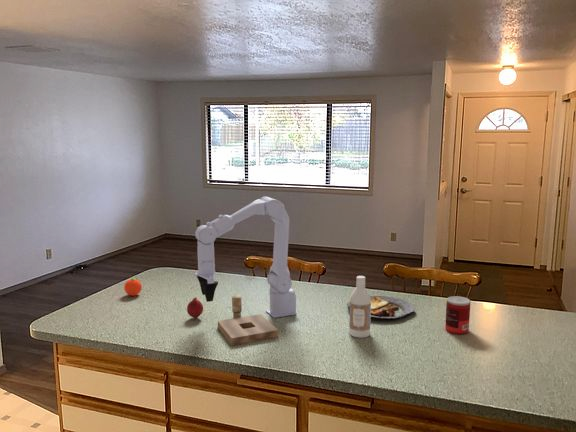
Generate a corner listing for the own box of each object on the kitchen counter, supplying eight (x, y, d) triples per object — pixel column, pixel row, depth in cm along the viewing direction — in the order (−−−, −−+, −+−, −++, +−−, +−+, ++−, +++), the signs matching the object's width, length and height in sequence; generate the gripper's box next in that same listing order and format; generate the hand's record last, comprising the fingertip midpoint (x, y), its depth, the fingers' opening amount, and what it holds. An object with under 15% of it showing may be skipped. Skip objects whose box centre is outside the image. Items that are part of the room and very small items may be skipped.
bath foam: (347, 336, 167) (348, 278, 163) (351, 329, 173) (352, 273, 170) (368, 339, 165) (369, 280, 161) (371, 331, 171) (372, 274, 168)
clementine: (130, 291, 215) (129, 275, 213) (145, 292, 214) (145, 275, 212) (121, 297, 207) (120, 280, 206) (137, 298, 206) (136, 281, 205)
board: (260, 320, 181) (260, 314, 181) (278, 337, 167) (278, 330, 166) (217, 327, 175) (217, 321, 174) (231, 345, 160) (231, 338, 160)
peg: (240, 315, 186) (239, 295, 185) (243, 318, 183) (242, 297, 182) (231, 317, 185) (230, 296, 183) (234, 320, 182) (233, 299, 180)
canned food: (468, 327, 175) (470, 297, 173) (468, 336, 167) (470, 304, 165) (445, 324, 177) (447, 294, 175) (444, 333, 170) (446, 302, 168)
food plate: (383, 327, 174) (384, 317, 174) (334, 310, 192) (335, 301, 191) (425, 312, 191) (425, 303, 190) (376, 297, 208) (376, 289, 207)
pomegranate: (199, 322, 180) (199, 300, 179) (184, 320, 181) (184, 299, 180) (205, 316, 186) (205, 295, 185) (191, 315, 187) (190, 294, 186)
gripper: (191, 256, 179) (192, 292, 181) (198, 266, 166) (199, 305, 168) (210, 254, 181) (212, 290, 184) (219, 264, 168) (220, 303, 170)
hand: (207, 297), depth 176 cm, fingers open, 7 cm apart
